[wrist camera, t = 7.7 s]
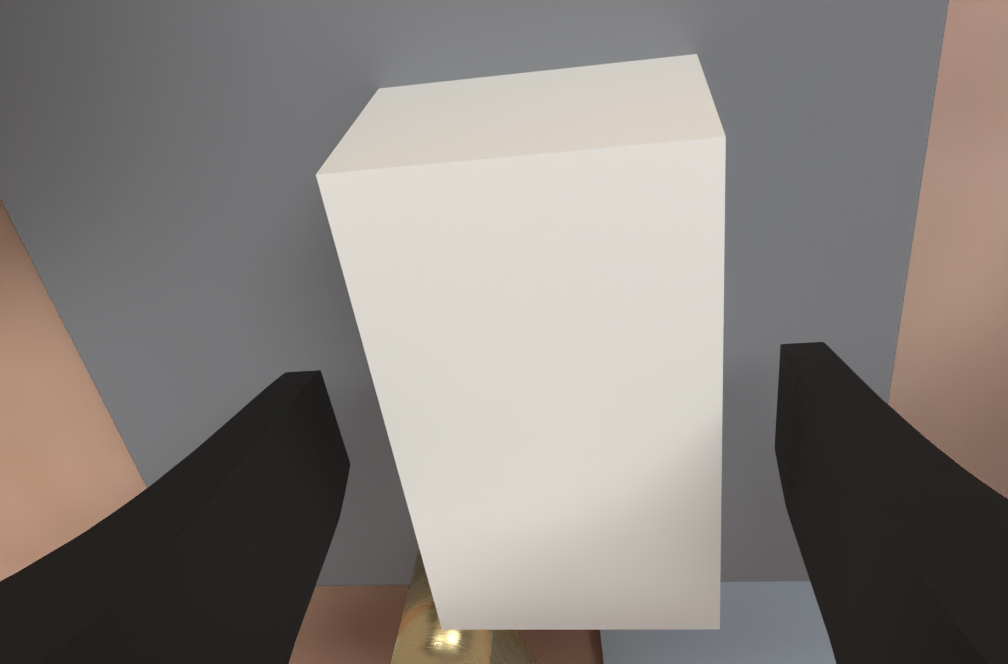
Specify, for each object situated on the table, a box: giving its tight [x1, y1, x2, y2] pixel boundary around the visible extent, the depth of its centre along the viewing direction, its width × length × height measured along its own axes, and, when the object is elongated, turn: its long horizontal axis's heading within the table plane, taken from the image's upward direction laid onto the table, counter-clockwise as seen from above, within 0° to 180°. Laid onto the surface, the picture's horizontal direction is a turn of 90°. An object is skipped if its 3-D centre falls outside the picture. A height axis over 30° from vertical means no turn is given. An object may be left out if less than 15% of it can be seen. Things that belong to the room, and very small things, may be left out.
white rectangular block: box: [316, 54, 726, 630], centre depth 14 cm, size 5×9×4 cm, turn 8°
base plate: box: [0, 0, 949, 586], centre depth 16 cm, size 16×14×1 cm
